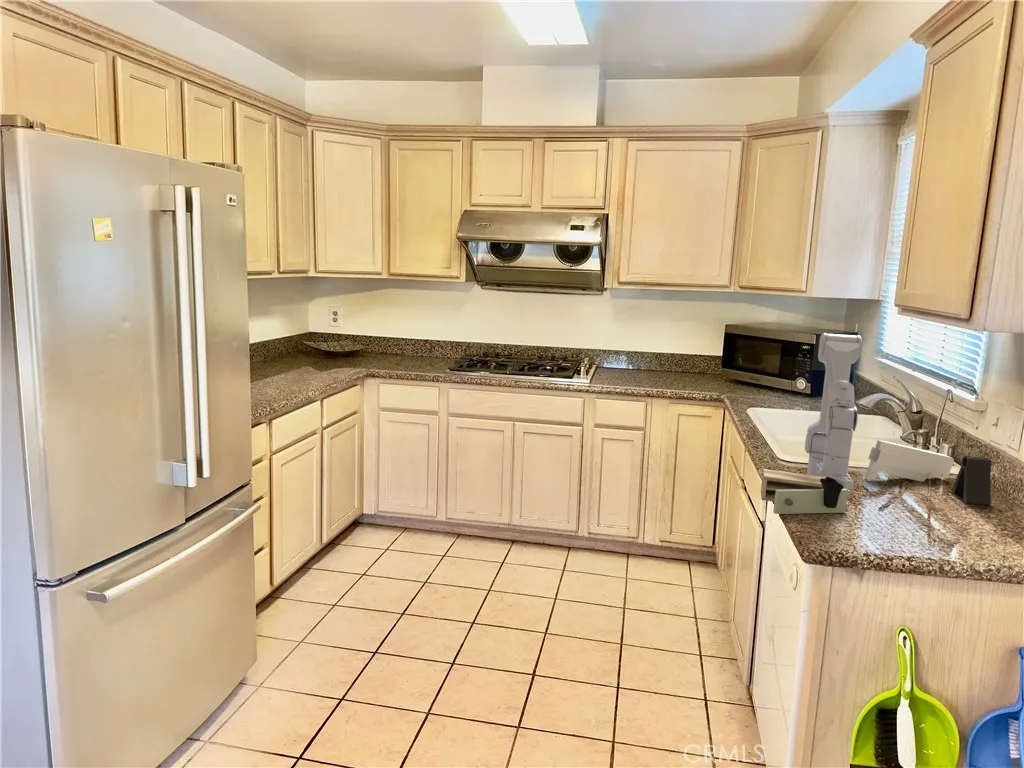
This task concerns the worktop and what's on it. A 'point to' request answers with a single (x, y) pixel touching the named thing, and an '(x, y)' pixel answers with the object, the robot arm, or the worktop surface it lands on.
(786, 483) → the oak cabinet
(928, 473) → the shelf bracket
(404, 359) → the worktop surface
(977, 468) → the door stopper
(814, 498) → the cabinet door
